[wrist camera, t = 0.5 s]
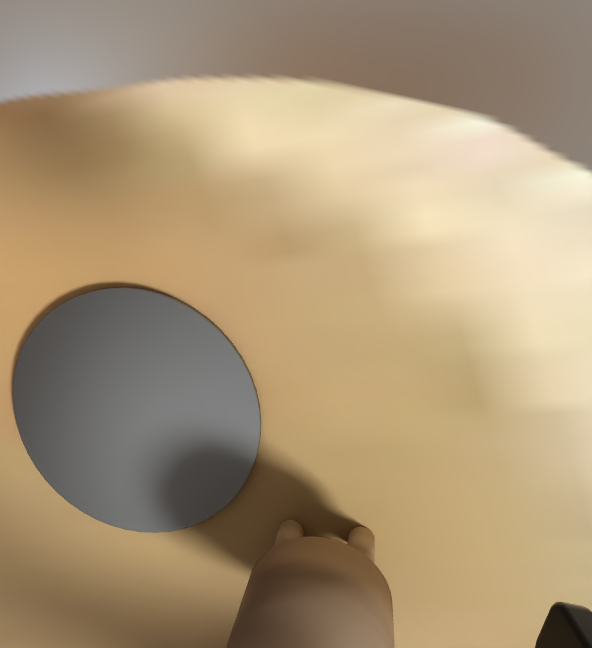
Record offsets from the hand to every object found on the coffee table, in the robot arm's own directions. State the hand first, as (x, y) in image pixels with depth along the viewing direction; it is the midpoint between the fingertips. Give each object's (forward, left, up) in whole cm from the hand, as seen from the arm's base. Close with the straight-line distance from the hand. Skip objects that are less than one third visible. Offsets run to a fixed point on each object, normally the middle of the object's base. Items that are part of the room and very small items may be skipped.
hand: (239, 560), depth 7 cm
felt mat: (-8, +6, -14) cm, 17 cm away
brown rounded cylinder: (-9, -5, -14) cm, 18 cm away
